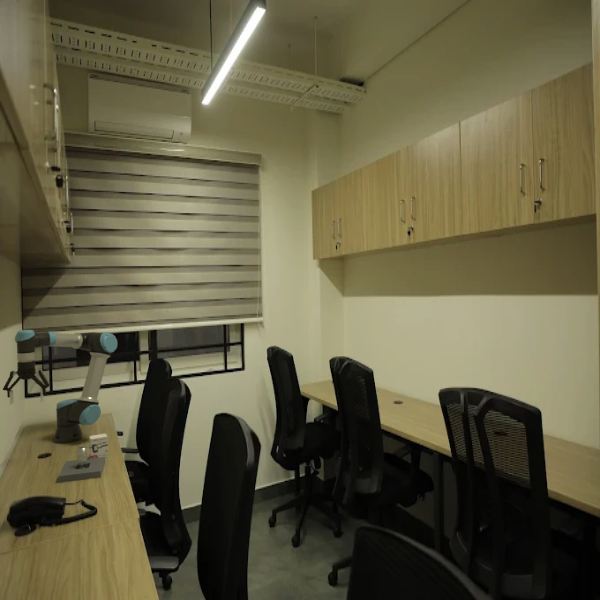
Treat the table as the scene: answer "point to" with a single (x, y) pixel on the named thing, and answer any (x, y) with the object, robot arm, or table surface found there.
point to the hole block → (82, 470)
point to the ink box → (98, 446)
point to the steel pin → (82, 457)
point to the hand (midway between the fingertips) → (27, 402)
